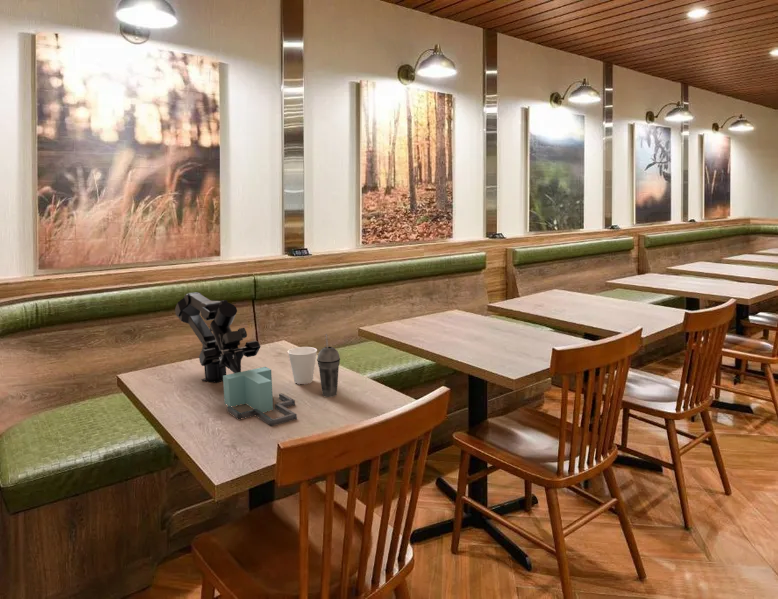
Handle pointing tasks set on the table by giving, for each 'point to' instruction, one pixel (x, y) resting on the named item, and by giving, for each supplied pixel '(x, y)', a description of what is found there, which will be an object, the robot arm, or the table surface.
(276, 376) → the table surface
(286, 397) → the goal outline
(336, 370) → the beverage cup
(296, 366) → the cup
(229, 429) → the table surface
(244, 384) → the t block
